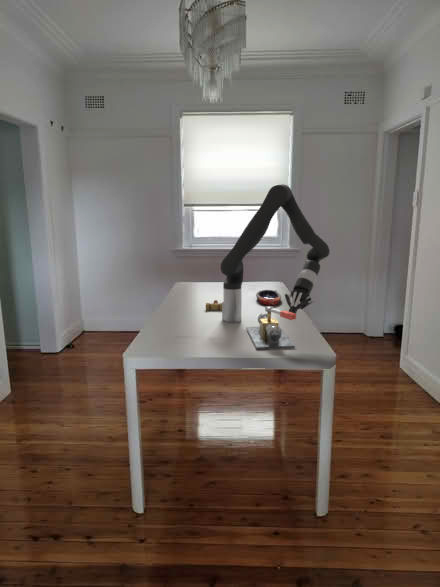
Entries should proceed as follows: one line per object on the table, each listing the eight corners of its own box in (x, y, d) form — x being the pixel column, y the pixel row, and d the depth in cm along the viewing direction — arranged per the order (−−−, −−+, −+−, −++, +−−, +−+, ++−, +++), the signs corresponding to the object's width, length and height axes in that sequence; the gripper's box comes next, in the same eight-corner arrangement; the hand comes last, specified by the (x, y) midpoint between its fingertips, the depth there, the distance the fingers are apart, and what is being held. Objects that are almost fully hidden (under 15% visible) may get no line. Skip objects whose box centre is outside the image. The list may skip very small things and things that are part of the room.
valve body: (246, 329, 181) (246, 304, 178) (279, 328, 182) (279, 303, 180) (256, 349, 155) (256, 321, 152) (294, 348, 156) (295, 320, 153)
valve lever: (263, 311, 166) (263, 306, 166) (269, 310, 168) (269, 305, 168) (290, 320, 153) (290, 314, 152) (296, 318, 154) (296, 313, 154)
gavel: (208, 297, 234) (224, 297, 234) (208, 304, 235) (224, 304, 235) (205, 303, 214) (223, 303, 213) (205, 311, 214) (223, 311, 214)
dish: (279, 295, 251) (279, 288, 250) (282, 307, 221) (283, 299, 220) (255, 295, 252) (255, 288, 251) (256, 307, 222) (256, 299, 221)
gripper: (289, 275, 166) (273, 308, 159) (317, 278, 157) (302, 313, 151) (294, 285, 171) (280, 317, 164) (322, 288, 163) (308, 323, 156)
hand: (290, 315), depth 158 cm, fingers closed
